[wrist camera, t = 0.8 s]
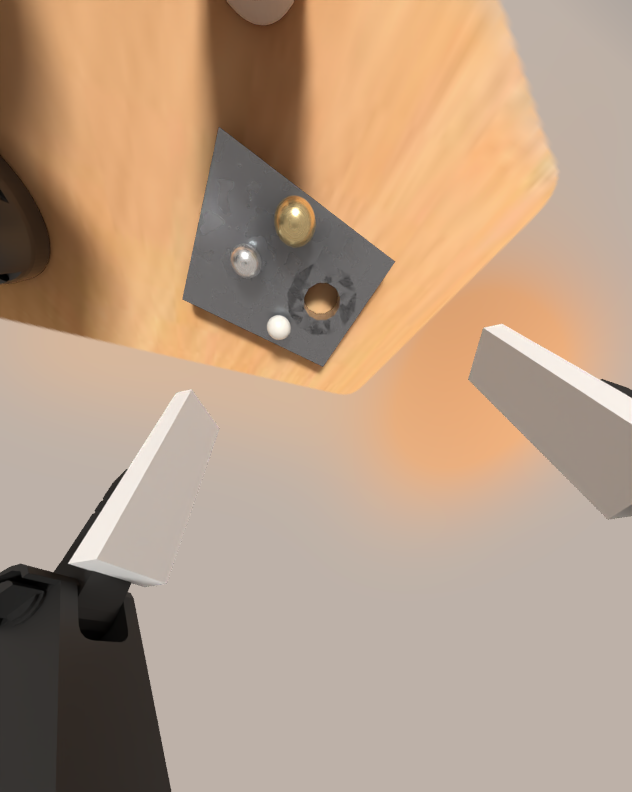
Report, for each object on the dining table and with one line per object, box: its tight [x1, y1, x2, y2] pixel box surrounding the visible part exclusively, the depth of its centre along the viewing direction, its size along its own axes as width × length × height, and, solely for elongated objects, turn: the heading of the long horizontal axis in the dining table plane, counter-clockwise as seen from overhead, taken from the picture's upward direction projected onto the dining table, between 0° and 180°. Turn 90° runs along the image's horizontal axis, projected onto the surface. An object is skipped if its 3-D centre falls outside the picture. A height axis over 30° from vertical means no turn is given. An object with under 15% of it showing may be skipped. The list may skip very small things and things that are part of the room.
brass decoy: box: [274, 195, 316, 248], centre depth 22 cm, size 4×4×4 cm
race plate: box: [183, 127, 395, 367], centre depth 28 cm, size 20×16×2 cm
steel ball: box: [230, 243, 262, 279], centre depth 24 cm, size 3×3×3 cm
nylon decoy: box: [267, 315, 291, 340], centre depth 29 cm, size 3×3×3 cm
